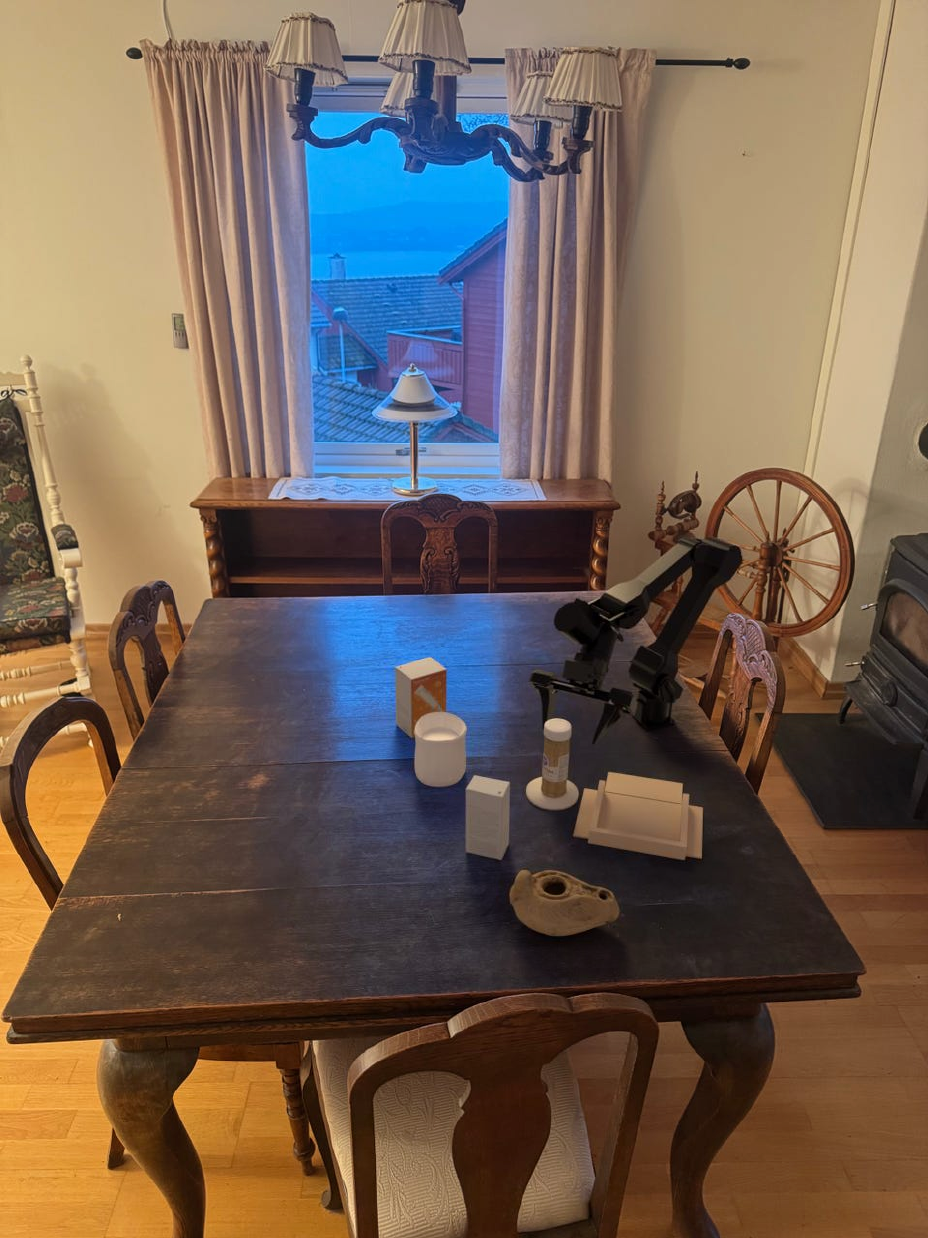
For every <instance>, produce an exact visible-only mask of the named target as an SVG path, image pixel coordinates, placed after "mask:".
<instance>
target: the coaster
mask: <svg viewBox="0 0 928 1238" xmlns="http://www.w3.org/2000/svg"><path fill="white" fill-rule="evenodd" d="M541 785H542V776H539V777H537V778H534V779H532V780H531V781H530V782H528V783H527V785H526V790H525V795H526V798H527V799H528V801H529V802H530V803H531V804H532V805H534V806H535V807H538V808H540V809H543V810H547V811H563V810H567V809H570V808H571V807H573V806H574V805H575V804H576V803H577V802H578V800H579V795H580V794H579V789H578V787H577V785H575V784H574V783H573V782H572V781H570V780H568V779H567V785H566V788H567V792H566V794H565V795H563V796H562V797H558V798H551V797H548V796H546V795H544V794H543V793H542V791H541Z"/></svg>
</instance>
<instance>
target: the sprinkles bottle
mask: <svg viewBox="0 0 928 1238" xmlns="http://www.w3.org/2000/svg"><path fill="white" fill-rule="evenodd" d="M543 736H544V742H543V743H544V745H543V757H542V769H541V775H542V776H541V777H542V785H541V791H542V793H543V794H544V795H546V796H548V797H551V798H558V797H562V796H563V795H565V794H566V792H567V788H566V785H567V780H568V773H569V761H570V746H571V745H570V742H571V740H570V739H571V737H572V724H571V723H570V722H569V721H568V720H566V719H562V718H557V717H556V718H551V719H550V720H548V721H547V722H546V723H545V725H544V731H543Z"/></svg>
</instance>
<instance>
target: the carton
mask: <svg viewBox="0 0 928 1238" xmlns="http://www.w3.org/2000/svg"><path fill="white" fill-rule="evenodd" d="M606 777H607V778H606V780H602V779H599V783H598V788H597V789H590V788H586V787H585V788H584V789H583V793H582V798H581V801H580V806H579V809H578V814H577V818H576V822H575V827H574V830H573V837H575V838H581V839H587V843H588V844H591V845H592V844H593V845H596V846H603V847H609V848H614V849H618V850H626V851H630V852H638V853H640V854H641V853H642V854H646V855H647V854H648V855H653V856H654V855H655V856H659V857H663V858H664V857H665V858H670V859H676V860H682V861H685V859H686V857H688V858H689V857H690V858H694V859H699V860H700V859H701V860H702V858H703V857H702V856H703V854H702V853H703V823H704V822H703V821H704V820H703V818H704V817H703V815H704V807H701V806H697V805H691V804H689V803H690V794H689V793H684V792H683V787H684V786H683V785H684V783H682V782H675V781H669V780H664V779H657V778H648V777H644V776H637V775H630V774H625V773H618V772H612V771H608V772H607V776H606Z"/></svg>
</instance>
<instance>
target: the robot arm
mask: <svg viewBox="0 0 928 1238" xmlns="http://www.w3.org/2000/svg"><path fill="white" fill-rule="evenodd" d="M741 549H742V548H740V546H738V545H736V544H733V543H730V542H728V541H725V540H723V539H719V538H716V537H714V536H708V537H706V538H703V539H701V538H698V537H697V538H696V537H691V536H690V537H689V536H680V537H679V538H678V540H676V542H675V544H674V546H672V547H671V548H670V549H669V550H668V551H667V552H665V553H664V554H663V555H662V556H660V557H659V558H657V560H655V562H653V563H652V564H651V565H650V566H649V567H647V568H646V569H645V570H644V571H642V572H641V573H640V574H639V575H637V576H636V577H635V578H633V579H631V580H627V581H623V582H620V583H618V584H616V585H615V586H613V587H611V588H609V589H607V590H606V591H605V592H604V593H602V595H600V596H598V597H597V598H594V599H593V600H591V601H588V602H587V601H586V600H585V599H583V598H580V597H579V596H578V597H576V598H575V599H574V600H573V602H568V603H565V604H564V605H562V606H561V607H559V608H558V610H557V611H556V613H555V614H554V618H553V625H554V627H555V629H556V630H557V631H558V632H560V633H561V634H562V635H564V636H565V637H566V638H567V639H569V640H570V641H572V642H573V643H575V644H576V645H580V647H579V650H578V652H576V653H575V654H574V658H573V659H571V658H570V659H566V658H565V659H564V662H563V667H562V673H561V678H562V679H565V680H566V681H565V680H560V679H559V678H558V676H557V675H556V674H555V673H554V672H550V671H546V670H542V669H539V668H536V669H534V670H533V671H532V672H531V673H530V677H529V680H528V683H529V684H530V685H531V686H532V688H533V689H534V690H535V691H536V693H537V694H538V695H539V697H540V701H541V711H542V712H541V713H542V714H541V717H542V719H541V720H542V727H541V728H542V731H543V732H544V725H545V723H546V722H547V721H548V720H550V719H552V716H553V713H554V709H555V706H556V703H557V700H558V698H557V696H556V695H555V694H557V693H558V692H562V693H566V694H568V695H569V694H570V695H573V696H578V697H581V698H585V699H590V700H594V701H597V702H601V703H604V705H603V709H602V714H601V717H600V719H599V721H598V724H597V727H596V730H595V732H594V735H593V739H592V742H591V744H592V746H596V745H597V744H598V743H599V741H600V740H601V739H602V738H603V737H604V735H605V734H606V733H607V732H608V731H609V730H610V729H611V728H612V727H613V726H614V724H616V723H617V722H618V721H619V720H620V719H626V718H627V715H628V716H632V717H633V718H634V719H635V720H637V722H638V723H640V724H641V725H642V726H643V727H644V728H645V729H647V730H653V729H658V728H663V727H667V726H670V725H671V726H672V725H675V724H676V720H675V719H674V718H672V710H673V704H674V703H676V700H679V699H680V698H681V696H682V694H683V690H684V688H683V686H682V685H681V684H679V683H678V681H676V677H677V675H678V672H679V660H678V659H679V653H680V652H681V650H682V648H683V646H684V644H685V643H686V641H687V639H688V637H689V635H690V634H691V633H692V630H693V629H694V627H695V626H696V624H697V622H698V620H699V618H700V617H701V615H702V613H703V611H704V610H705V608H706V606H707V604H708V603H709V600H710V599H711V597H712V596H713V594H714V592H715V591H716V589H718V588H720V587H721V586H723V585H724V584H727V583H728V582H729V581H731V579H732V578H733V577H734V575H735V574H736V572H737V571H738V570H739V569H740V568H741V565H742V564H743V560H744V559H743V555H742V550H741ZM690 569H691V576H690V579H689V581H688V583H687V585H686V586H685V588H684V590H683V591H682V593H681V595H680V596H679V599H678V600H677V602H676V603H675V605H674V607H673V609H672V611H671V613H670V614H669V616H668V618H667V620H665V621H666V622H664V625H663V626H662V628H661V630H660V632H659V634H658V635H657V637H656V639H655V641H654V642H652V643H651V644H649V645H648V646H645V645H642V644H641V645H640V646H639V647H638V648H637V650H636V652H635V655H634V657H633V658H631V660H630V661H629V663H630V666H629V668H628V673H629V679H630V681H631V686H632V687H633V688H636V689H638V691H637V698H635V696H634V694H633V692H632V691H628V690H626V689H625V690H624V689H620V688H616V687H611V689H610V691H609V692H608V691H605V690H603V689H602V687H603V683H604V681H605V678H606V675H608V672H609V665H610V662H611V658H612V656H613V655H612V654H613V652H614V649H615V645H616V643H624V636H623V635H622V633H621V631H620V629H623V630H631V629H633V628H634V627H636V626H637V625H638V624H639V623H640V622H641V621H642V620H643V618H644V617H645V616H646V615H647V614H648V612H649V610H650V605H651V603H652V601H653V600H655V598H656V597H658V596H659V595H660V594H661V593H662V592H663V591H664V590H666V589H667V588H668V587H669V586H671V585H672V584H673V583H674V582H676V580H678V579H679V578H680V577H681V576H683V574H685V573H686V572H687V571H688V570H690ZM567 681H568V682H567Z"/></svg>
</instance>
